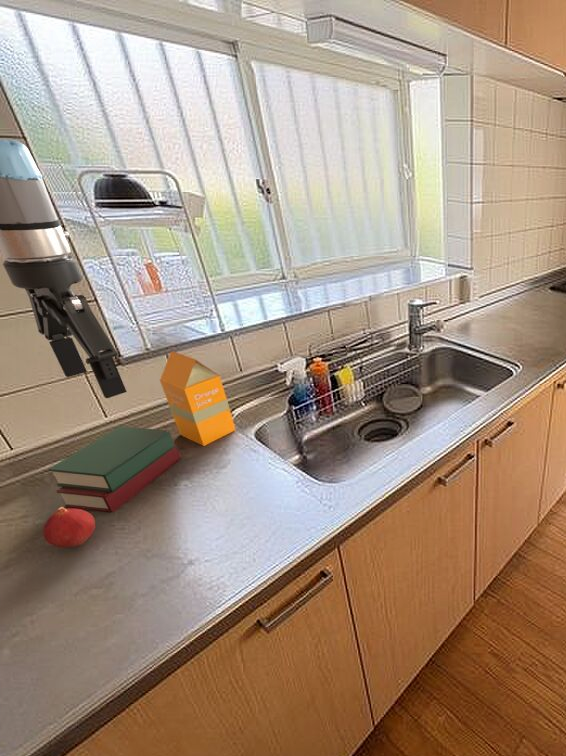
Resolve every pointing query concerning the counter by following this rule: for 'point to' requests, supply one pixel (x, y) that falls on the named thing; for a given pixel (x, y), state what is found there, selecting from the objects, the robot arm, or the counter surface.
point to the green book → (113, 459)
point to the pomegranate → (68, 527)
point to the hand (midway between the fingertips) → (95, 384)
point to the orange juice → (196, 399)
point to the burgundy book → (121, 495)
